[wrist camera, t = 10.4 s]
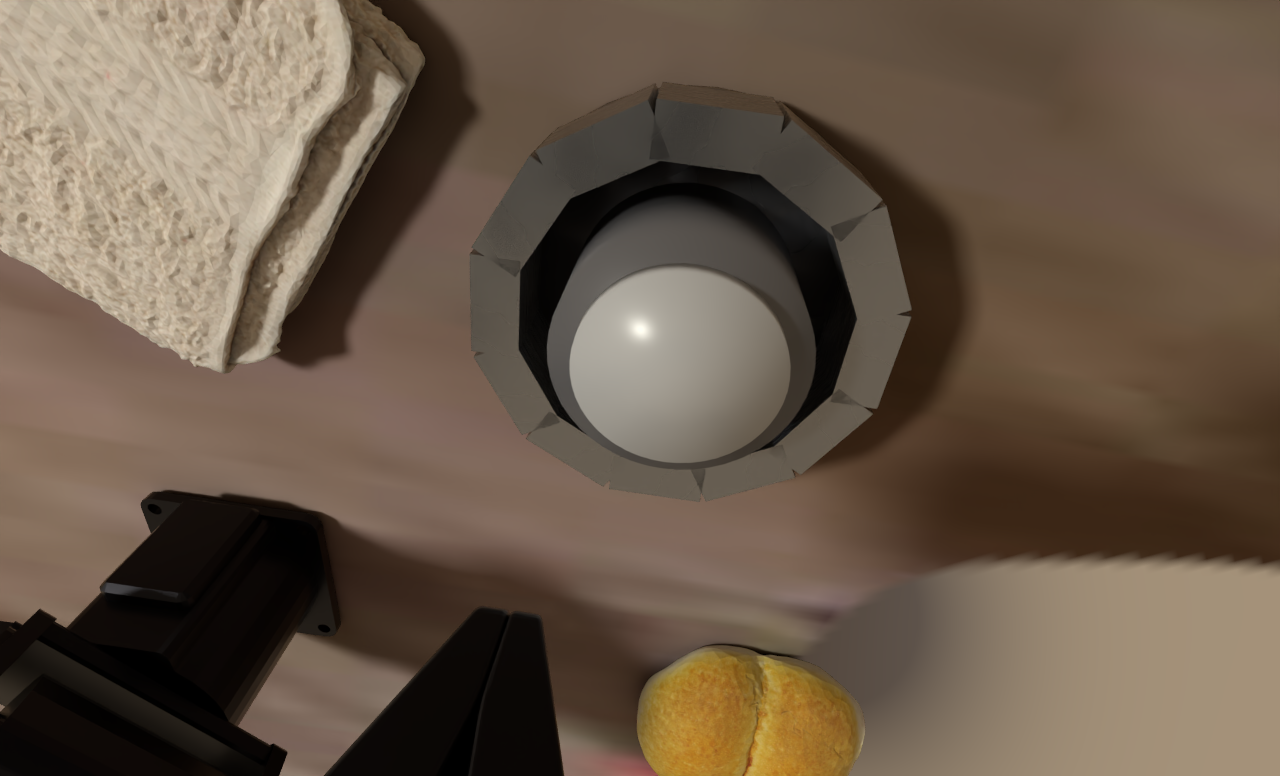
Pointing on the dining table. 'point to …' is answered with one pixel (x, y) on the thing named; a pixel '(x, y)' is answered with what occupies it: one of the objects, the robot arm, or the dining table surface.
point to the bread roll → (747, 717)
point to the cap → (682, 330)
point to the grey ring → (717, 156)
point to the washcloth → (192, 154)
